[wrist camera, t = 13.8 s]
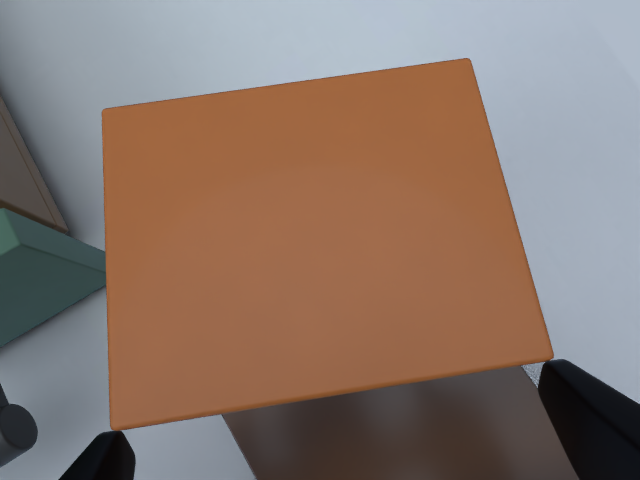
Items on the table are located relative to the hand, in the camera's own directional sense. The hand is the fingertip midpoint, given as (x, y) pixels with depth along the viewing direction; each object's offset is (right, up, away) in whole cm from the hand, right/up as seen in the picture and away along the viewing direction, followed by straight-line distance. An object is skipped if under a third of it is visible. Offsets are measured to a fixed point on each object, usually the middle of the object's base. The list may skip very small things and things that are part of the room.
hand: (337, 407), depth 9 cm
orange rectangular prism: (0, +1, +7) cm, 7 cm away
